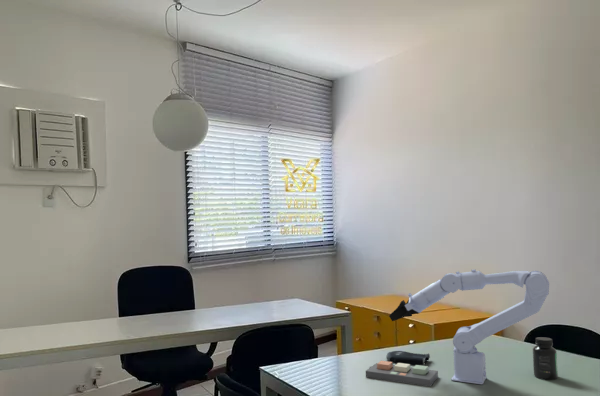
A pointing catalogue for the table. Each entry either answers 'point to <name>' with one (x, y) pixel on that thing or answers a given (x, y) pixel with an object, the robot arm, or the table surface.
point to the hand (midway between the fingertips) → (394, 317)
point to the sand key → (402, 367)
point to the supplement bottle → (545, 359)
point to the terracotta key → (384, 365)
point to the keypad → (402, 376)
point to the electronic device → (407, 357)
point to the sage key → (420, 370)
